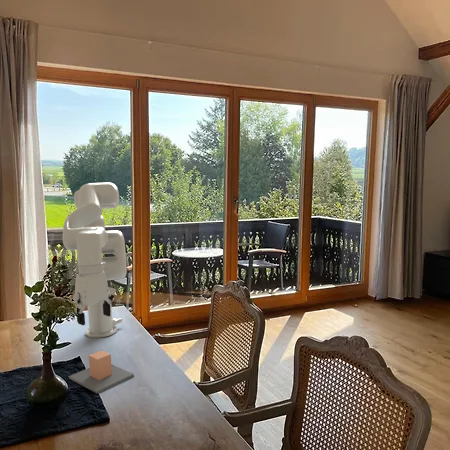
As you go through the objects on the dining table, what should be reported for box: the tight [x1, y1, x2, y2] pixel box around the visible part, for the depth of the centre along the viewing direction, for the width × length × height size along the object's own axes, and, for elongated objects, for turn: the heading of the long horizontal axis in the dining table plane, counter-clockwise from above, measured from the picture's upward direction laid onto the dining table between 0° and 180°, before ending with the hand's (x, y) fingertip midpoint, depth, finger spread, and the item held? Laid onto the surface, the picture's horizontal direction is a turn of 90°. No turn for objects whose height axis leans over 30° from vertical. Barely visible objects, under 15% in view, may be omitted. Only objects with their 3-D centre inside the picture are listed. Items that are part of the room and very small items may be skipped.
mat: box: [68, 363, 135, 394], centre depth 148 cm, size 14×16×1 cm
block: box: [88, 350, 112, 380], centre depth 147 cm, size 5×5×7 cm
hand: (94, 319), depth 148 cm, fingers open, 9 cm apart
